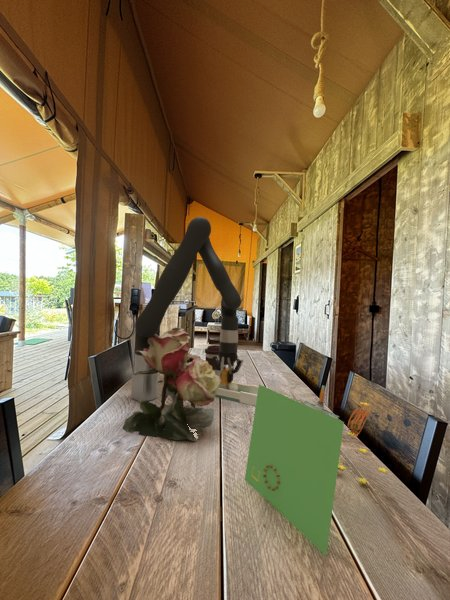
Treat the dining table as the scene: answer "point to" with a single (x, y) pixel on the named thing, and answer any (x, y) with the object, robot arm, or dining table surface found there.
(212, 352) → the coffee cup
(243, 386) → the cream tray
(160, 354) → the rose bouquet
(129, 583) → the dining table surface
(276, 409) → the green panel with ring
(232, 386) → the ball
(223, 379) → the orange upright block
